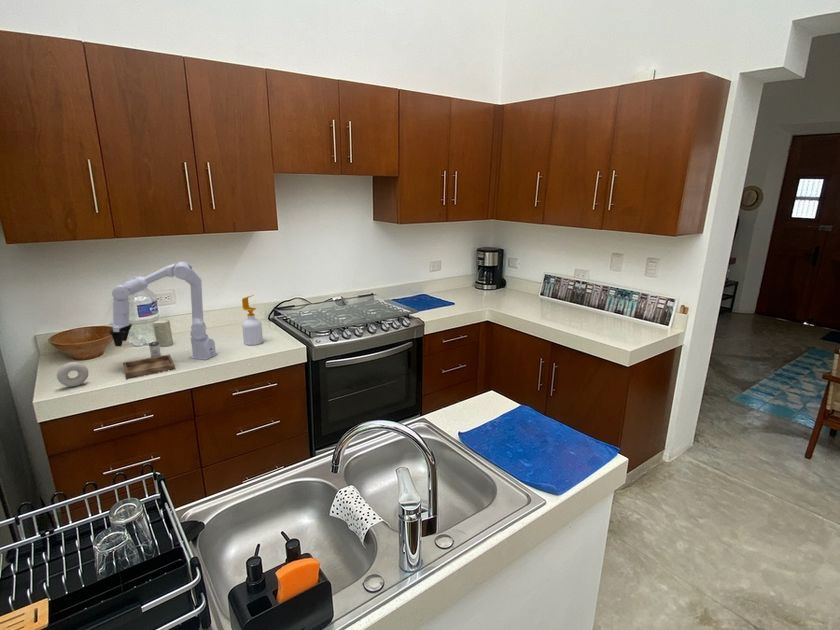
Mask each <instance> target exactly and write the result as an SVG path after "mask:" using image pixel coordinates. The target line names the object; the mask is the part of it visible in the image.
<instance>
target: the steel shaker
mask: <svg viewBox="0 0 840 630" xmlns="http://www.w3.org/2000/svg"><path fill="white" fill-rule="evenodd" d="M148 347H149V353H150V358H153V357H158V356H162V354H161V346H159V342H156V341H150V342H149V343H148Z"/></svg>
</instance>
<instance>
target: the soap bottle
mask: <svg viewBox="0 0 840 630" xmlns="http://www.w3.org/2000/svg"><path fill="white" fill-rule="evenodd" d="M251 297H254V294H252V295H249V296H246V297H243V298H242V300H241V303H242V309H243V311H247V312H248V313H247V319H245V320H244V321H243V322H242V325H241V326H242V327H241V328H242V334H243V335H242V337H243V344H244V345H246V346H256V345H259V344H262V343H263V342H264V338H263V327H262V325H263V324H262V322H261V320H260V319H258V318H255V317H256V315H255V313H253V312H254V311H255V310H256V309H257V308H256V307H250V305H249V304H250V303H249V298H251Z"/></svg>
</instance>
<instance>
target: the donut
mask: <svg viewBox="0 0 840 630" xmlns="http://www.w3.org/2000/svg"><path fill="white" fill-rule="evenodd" d="M73 371H76V372H77V376H75V377H70V376H69V373H70V372H73ZM88 377H89V369H88V367H87V366H86V365H85V364H83V363H81V362H77V361H69V362H67V363H65V364H63V365H62V366H60V367H59V369H58V370H57V373H56V379H57V380H58V382H59V383H60V384H61V385H63V386H65V387H78V386H80V385H82V384H83V383H85V382H86V380H87V379H88Z"/></svg>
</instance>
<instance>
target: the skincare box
mask: <svg viewBox="0 0 840 630" xmlns="http://www.w3.org/2000/svg"><path fill="white" fill-rule="evenodd" d="M152 328H153V331H154V337H155V342H159V346H160V347H170V346H172V345H173V344H174V341H173V340H174V339H173V335H172V328H171V322H170V320H156V321H153V322H152Z"/></svg>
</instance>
